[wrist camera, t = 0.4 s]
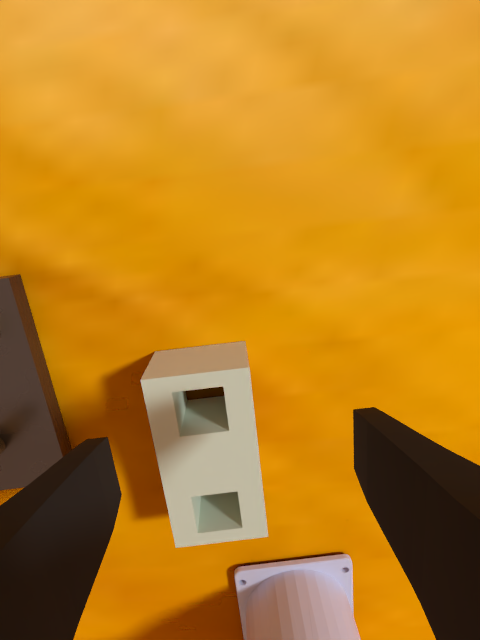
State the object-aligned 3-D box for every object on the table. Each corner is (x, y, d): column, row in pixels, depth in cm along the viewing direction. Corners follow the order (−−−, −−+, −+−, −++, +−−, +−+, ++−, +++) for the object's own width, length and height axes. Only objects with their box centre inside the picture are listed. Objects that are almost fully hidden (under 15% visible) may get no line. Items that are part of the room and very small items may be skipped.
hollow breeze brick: (261, 488, 22) (268, 536, 19) (183, 497, 22) (175, 547, 19) (245, 341, 19) (249, 367, 16) (155, 351, 19) (140, 380, 16)
